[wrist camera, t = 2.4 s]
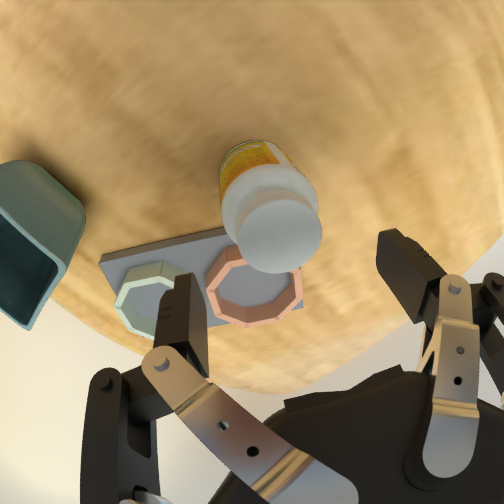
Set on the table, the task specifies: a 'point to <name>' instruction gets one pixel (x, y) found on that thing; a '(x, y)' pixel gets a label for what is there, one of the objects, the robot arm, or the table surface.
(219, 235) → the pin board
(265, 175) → the supplement bottle
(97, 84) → the table surface
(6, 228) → the flower pot
